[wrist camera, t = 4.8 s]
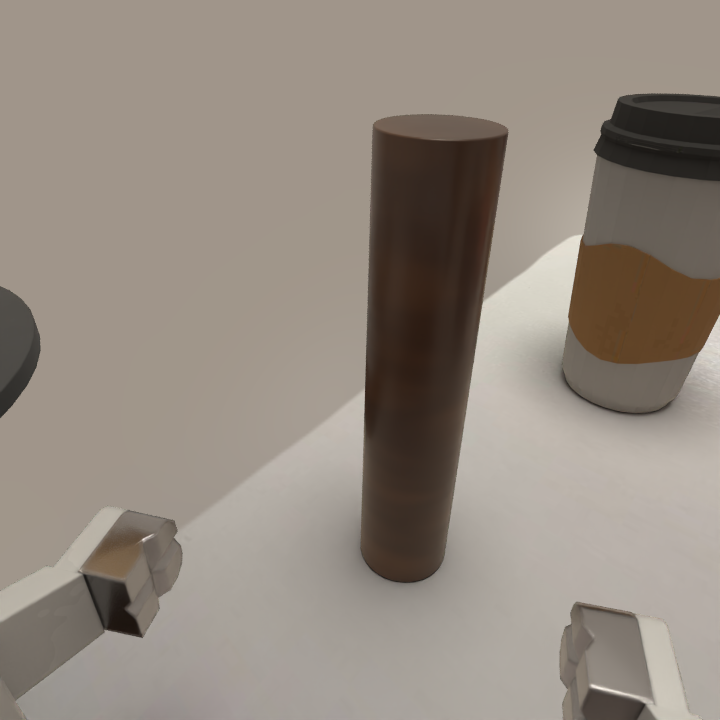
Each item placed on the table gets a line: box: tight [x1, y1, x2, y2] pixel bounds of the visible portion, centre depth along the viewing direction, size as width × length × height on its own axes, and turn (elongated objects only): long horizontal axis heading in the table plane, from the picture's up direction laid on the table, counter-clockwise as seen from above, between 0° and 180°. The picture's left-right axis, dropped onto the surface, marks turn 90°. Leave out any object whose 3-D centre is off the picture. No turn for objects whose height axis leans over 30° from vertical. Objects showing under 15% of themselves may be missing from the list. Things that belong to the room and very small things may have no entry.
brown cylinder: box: [361, 114, 508, 582], centre depth 19 cm, size 3×3×16 cm
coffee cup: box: [562, 94, 720, 413], centre depth 29 cm, size 8×8×15 cm
